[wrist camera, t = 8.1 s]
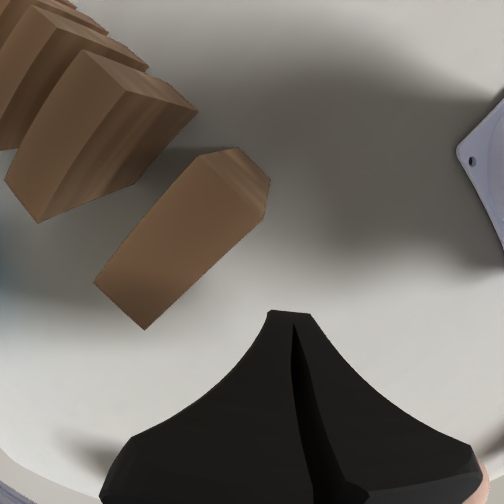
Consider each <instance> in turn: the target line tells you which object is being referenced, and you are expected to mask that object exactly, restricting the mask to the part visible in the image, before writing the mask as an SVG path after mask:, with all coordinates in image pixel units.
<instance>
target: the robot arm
mask: <svg viewBox="0 0 504 504" xmlns="http://www.w3.org/2000/svg"><path fill="white" fill-rule="evenodd" d="M456 155H457V158H458V160H459V161H460V163H461V165H462V166H463V168H464V170H465V171H466V173H467V175H468V177H469V178H470V180H471V182H472V184H473V186H474V187H475V189H476V191H477V193H478V195H479V197H480V199H481V201H482V203H483V205H484V207H485V209H486V211H487V213H488V215H489V217H490V219H491V221H492V223H493V226H494V228H495V230H496V232H497V234H498V237H499V239H500V241H501V244H502V246H503V249H504V98H503V99H502V100H501V102H500V103H499V104H498V105H497V106H496V107H495V108H494V109H493V110H492V111H491V112H490V113H489V114H488V115H487V116H486V117H485V118H484V119H483V120H482V121H481V122H480V124H479V125H478V126H477V127H476V128H475V129H474V130H473V131H472V132H471V133H470V134H469V135H468V136H467V137H466V138H465V139H464V140H463V141H462V142H461V143H460V144H459V145H458V146H457V149H456ZM470 157H471V158H472V164H471V165H469V158H470ZM482 481H483V473H482V471H481V468H480V466H479V464H478V461H477V459H476V457H475V454H474V452H473V450H472V448H471V446H470V445H468V444H466V443H464V442H461V441H459V440H457V439H454V438H452V437H450V436H447V435H445V434H443V433H441V432H438V431H436V430H434V429H433V428H431V427H429V426H427V425H425V424H424V423H422V422H420V421H418V420H417V419H415V418H413V417H412V416H410V415H409V414H407V413H406V412H404V411H403V410H401V409H400V408H398V407H397V406H396V405H394V404H393V403H391V402H390V401H389V400H387V399H386V398H385V397H383V396H382V395H381V394H380V393H379V392H377V391H376V390H375V389H374V388H373V387H372V386H371V385H369V384H368V383H367V382H366V381H365V380H364V379H363V378H362V377H361V376H360V375H359V374H358V373H357V372H356V371H355V370H354V369H353V368H352V367H351V366H350V365H349V364H348V363H347V362H346V360H345V359H344V358H343V357H342V356H341V355H340V354H339V352H338V351H337V350H336V348H335V347H334V346H333V345H332V343H331V342H330V341H329V339H328V338H327V337H326V335H325V334H324V333H323V331H322V330H321V328H320V327H319V326H318V324H317V323H316V321H315V320H314V318H313V317H312V316H311V314H308V313H297V312H288V311H278V310H270V311H269V312H267V318H266V320H265V323H264V325H263V327H262V329H261V331H260V333H259V334H258V336H257V337H256V339H255V341H254V342H253V344H252V345H251V347H250V348H249V349H248V351H247V352H246V353H245V355H244V356H243V357H242V358H241V360H240V361H239V362H238V363H237V364H236V366H235V367H234V368H233V369H232V370H231V371H230V372H229V373H228V374H227V375H226V376H225V377H224V378H223V379H222V380H221V381H220V382H219V383H218V384H216V385H215V386H214V387H213V388H212V389H211V390H209V391H208V392H207V393H206V394H205V395H203V396H202V397H201V398H199V399H198V400H197V401H195V402H194V403H192V404H191V405H189V406H188V407H186V408H185V409H183V410H182V411H180V412H179V413H177V414H176V415H174V416H173V417H171V418H169V419H167V420H166V421H164V422H162V423H160V424H158V425H156V426H154V427H152V428H150V429H148V430H145V431H143V432H141V433H139V434H137V435H135V436H133V437H131V438H130V439H129V440H128V442H127V443H126V444H125V446H124V447H123V448H122V450H121V451H120V453H119V454H118V456H117V458H116V459H115V460H114V462H113V464H112V465H111V467H110V469H109V472H108V474H107V477H106V479H105V481H104V484H103V486H102V489H101V491H100V494H99V498H100V500H101V502H102V503H103V504H462V503H463V502H464V501H466V500H467V499H468V498H469V497H470V496H471V495H472V494H473V493H474V492H475V491H476V490H477V489H478V487H479V486H480V484H481V483H482ZM0 504H37V503H35V502H33V501H31V500H30V499H28V498H26V497H25V496H23V495H21V494H20V493H18V492H17V491H15V490H14V489H12V488H11V487H9V486H8V485H6V484H5V483H3V482H2V481H0Z"/></svg>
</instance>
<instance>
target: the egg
mask: <svg viewBox="0 0 504 504" xmlns="http://www.w3.org/2000/svg"><path fill="white" fill-rule="evenodd" d="M477 461H478V464H479V466H480V468H481V471H482V473H483V481H482V483H481V484H480V486H479V487H478V489H477V490H476V491H475V492H474V493H473V494H472V495H471V496H470V497H469V498H468V499H467V500H466V501H464V502H463V503H462V504H485V503H486V500H487V497H488V492H489V485H490V483H489V476H488V473H487V470H486V468H485V467H484V465H483V464H482V463H481V462H480V461H479V460H477Z"/></svg>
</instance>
